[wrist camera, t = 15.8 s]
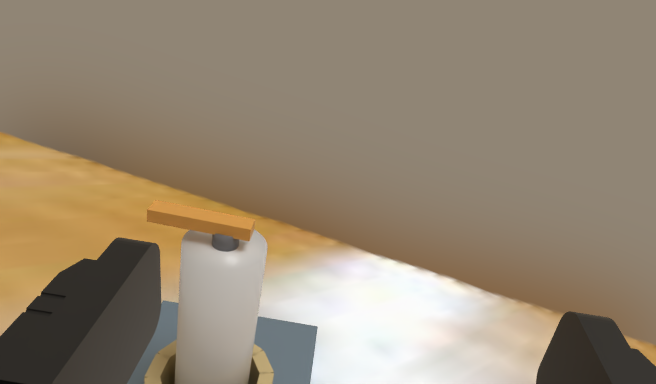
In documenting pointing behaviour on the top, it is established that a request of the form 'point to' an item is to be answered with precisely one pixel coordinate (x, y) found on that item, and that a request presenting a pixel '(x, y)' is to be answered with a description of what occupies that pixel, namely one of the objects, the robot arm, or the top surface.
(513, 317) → the top surface
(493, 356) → the top surface
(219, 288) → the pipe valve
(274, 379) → the socket plate
